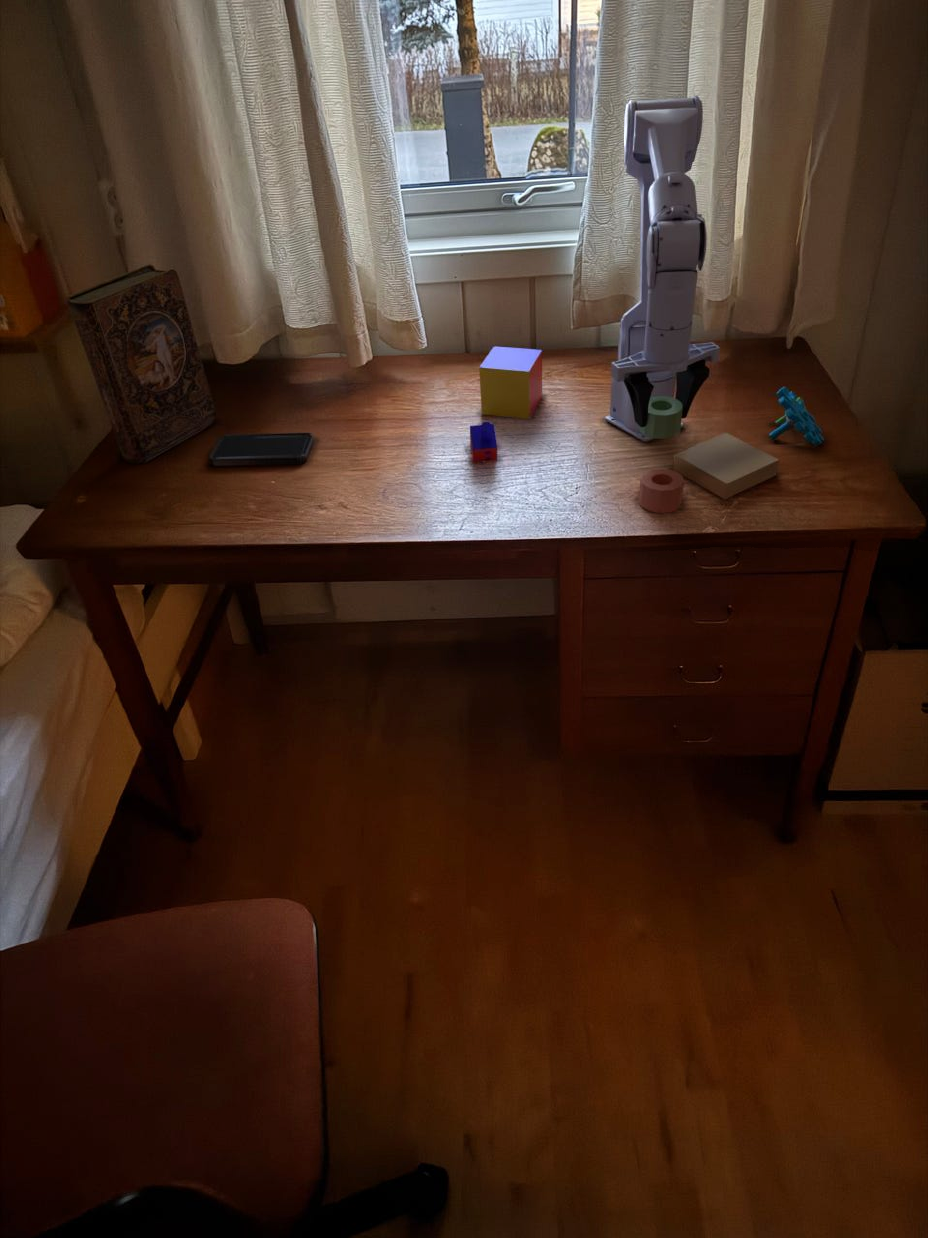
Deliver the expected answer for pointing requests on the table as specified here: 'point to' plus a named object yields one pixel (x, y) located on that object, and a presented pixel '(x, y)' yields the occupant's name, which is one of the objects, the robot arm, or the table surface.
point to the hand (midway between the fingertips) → (660, 419)
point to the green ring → (663, 418)
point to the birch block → (725, 465)
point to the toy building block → (483, 442)
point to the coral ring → (661, 490)
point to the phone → (262, 449)
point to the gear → (796, 418)
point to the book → (144, 360)
